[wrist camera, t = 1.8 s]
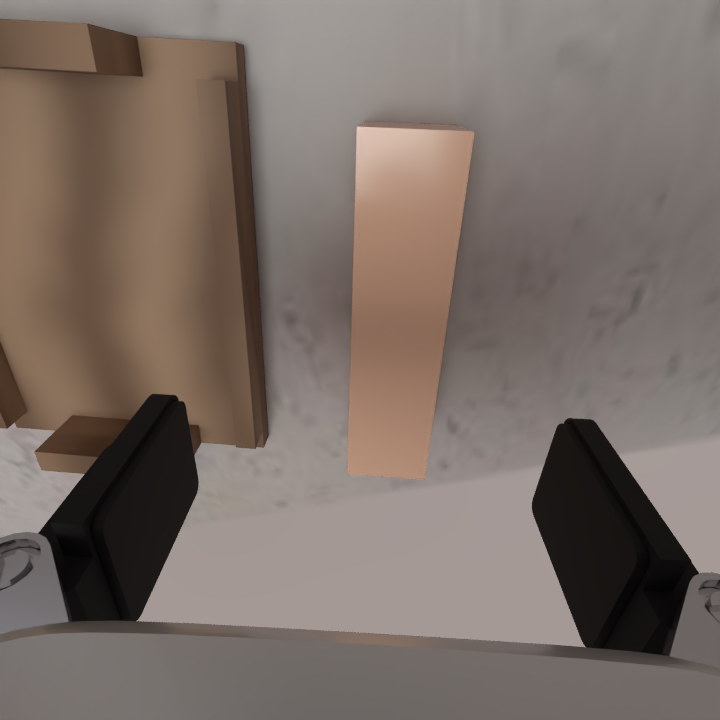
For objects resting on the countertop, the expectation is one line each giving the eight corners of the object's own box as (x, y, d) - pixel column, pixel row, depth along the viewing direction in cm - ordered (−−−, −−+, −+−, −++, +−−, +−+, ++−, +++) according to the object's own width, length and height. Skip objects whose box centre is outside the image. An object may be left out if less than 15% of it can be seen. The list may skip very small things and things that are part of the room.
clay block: (454, 124, 18) (474, 131, 13) (419, 413, 25) (424, 479, 20) (365, 120, 18) (356, 126, 14) (355, 409, 25) (347, 473, 20)
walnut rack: (243, 45, 17) (204, 30, 13) (268, 435, 26) (249, 487, 22) (-123, 24, 17) (-255, 5, 14) (29, 416, 26) (-27, 464, 23)
